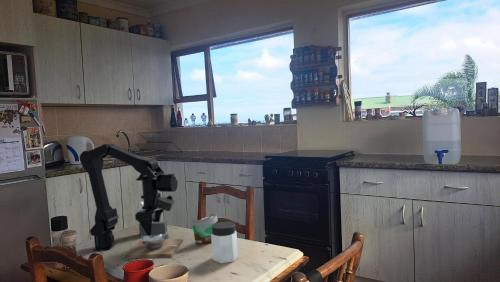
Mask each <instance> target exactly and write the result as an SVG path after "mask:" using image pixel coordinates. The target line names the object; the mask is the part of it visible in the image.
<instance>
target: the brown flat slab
mask: <svg viewBox="0 0 500 282" xmlns="http://www.w3.org/2000/svg"><path fill="white" fill-rule="evenodd" d="M183 239H184V238H172V239H171V238H170V239H169V238H168V239H166V240H165V241H164V242H162V243H159V244H154V245H145V244H143V243H142V239H140V240H138V241H137V242H136V243H135V244H134V245H133V246H131V247H130V248H129V249H128V250H127V251H126V252H125V253H124V254H123V255H122V256H123V259H143V258H144V259H146V258H148V259H149V258H153V259H154V258H173V256H174V255H175V254H176V252H177V250H179V248H180V247H181V245H182V244H183V243H184V240H183Z"/></svg>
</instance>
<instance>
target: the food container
mask: <svg viewBox="0 0 500 282" xmlns="http://www.w3.org/2000/svg"><path fill="white" fill-rule="evenodd" d="M218 219H219V218H218V216H217V214H216V213H213V212H211V215H209V216H205V217H201V218H200V219H197V220H195V219H192V220H191V226H192V230H193V235H194V236H193V237H194V243H195V245H197V246H199V245H200V246H203V245H209V244H212V242H211V234H212V225H213V224H216V223H218V221H219V220H218Z"/></svg>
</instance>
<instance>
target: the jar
mask: <svg viewBox="0 0 500 282" xmlns="http://www.w3.org/2000/svg"><path fill="white" fill-rule="evenodd" d="M237 235H238V234H237V230H236V224H235V223H234V222H231V221H220V222H216V224H213V225H212V234H211V242H212V243H211V254H212V255H211V256H212V261H214V262H216V263H219V264H226V263H227V264H228V263H233V262H235V261H236V259H238V257H239V253H238V252H239V251H238V237H237Z"/></svg>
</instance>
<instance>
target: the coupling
mask: <svg viewBox="0 0 500 282" xmlns="http://www.w3.org/2000/svg"><path fill="white" fill-rule="evenodd" d="M138 228H139V231H138V232H139V235H140V236H141V240H142V243H143V244H145V245H154V244H159V243H162V242H164V241H165V240H166V239H169V237H170V236H169V233H168V225H167V221H160V222H152V228H151V236H148V235H147V234H146V232H145V230H144V229H143V227H142V226H141V224H140V223H138Z"/></svg>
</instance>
